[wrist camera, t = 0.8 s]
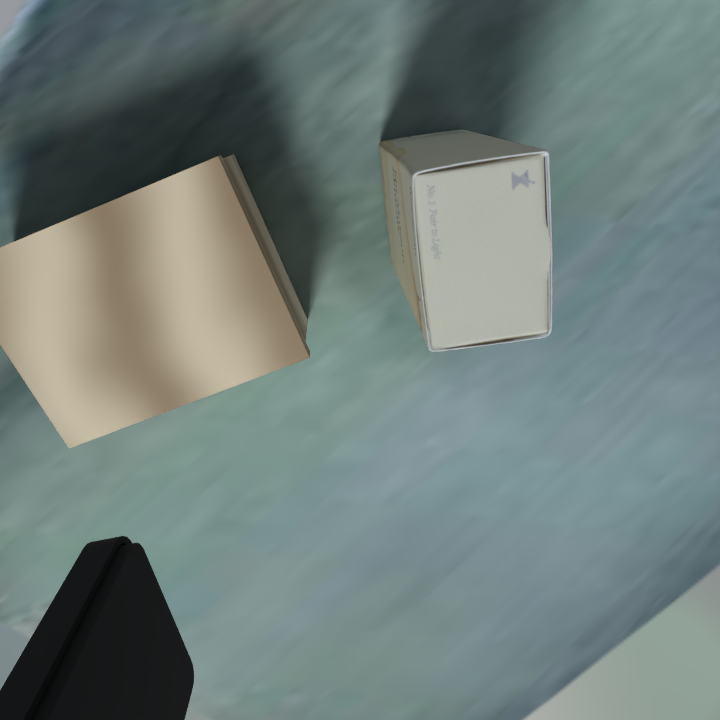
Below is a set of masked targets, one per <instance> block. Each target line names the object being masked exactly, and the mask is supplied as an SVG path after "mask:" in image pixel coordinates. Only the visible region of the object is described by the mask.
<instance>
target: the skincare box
mask: <svg viewBox="0 0 720 720" xmlns="http://www.w3.org/2000/svg"><path fill="white" fill-rule="evenodd" d="M379 151H380V161H381V172H382V183H383V192H384V202H385V211H386V219H387V228H388V236H389V244H390V252H391V260H392V264H393V266H394V269H395V271H396V274H397V276H398V279H399V281H400V283H401V286H402V288H403V290H404V293H405V295H406V297H407V300H408V302H409V304H410V306H411V309H412V311H413V313H414V316H415V318H416V320H417V323H418V325H419V327H420V330H421V332H422V334H423V337H424V339H425V341H426V344H427V346H428V349H429V350H430V351H432V352H437V351H446V350H453V349H463V348H470V347H479V346H487V345H494V344H503V343H511V342H517V341H524V340H531V339H538V338H544V337H547V336H549V335H550V333H551V332H552V224H551V193H550V168H549V152H548V151H547V150H544V149H539V148H535V147H531V146H527V145H523V144H519V143H515V142H511V141H508V140H503V139H499V138H496V137H492V136H487V135H483V134H479V133H476V132H472V131H468V130H454V131H445V132H437V133H430V134H423V135H415V136H409V137H403V138H397V139H392V140H386V141H381V142H380V143H379Z"/></svg>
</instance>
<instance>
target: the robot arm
mask: <svg viewBox="0 0 720 720" xmlns="http://www.w3.org/2000/svg"><path fill="white" fill-rule="evenodd" d="M193 683H194V670H193V664H192V661H191V659H190V656H189V654H188V652H187V649H186V647H185V645H184V642H183V640H182V638H181V635H180V633H179V631H178V628H177V626H176V624H175V621H174V619H173V617H172V614H171V612H170V610H169V607H168V605H167V603H166V600H165V598H164V596H163V593H162V591H161V588H160V586H159V584H158V581H157V579H156V577H155V574H154V572H153V570H152V567H151V565H150V563H149V560H148V558H147V556H146V553H145V551H144V549H143V547H142V546H141V545H140V544H139V543H133V544H132V542H131V540H130V539H128V538H127V537H125V536H121V537H115V538H110V539H105V540H100V541H94V542H90V543H88V544H87V545H86V546H85V547H84V548H83V550H82V552H81V553H80V555H79V557H78V559H77V560H76V562H75V564H74V565H73V567H72V569H71V570H70V572H69V574H68V576H67V577H66V579H65V581H64V582H63V584H62V586H61V588H60V589H59V591H58V593H57V594H56V596H55V598H54V600H53V601H52V603H51V605H50V606H49V608H48V610H47V611H46V613H45V615H44V617H43V618H42V620H41V622H40V623H39V625H38V627H37V629H36V630H35V632H34V634H33V635H32V637H31V639H30V641H29V642H28V644H27V646H26V647H25V649H24V651H23V653H22V654H21V656H20V658H19V659H18V661H17V663H16V665H15V666H14V668H13V670H12V672H11V673H10V675H9V676H8V678H7V680H6V682H5V683H4V685H3V687H2V688H1V690H0V720H184V719H185V715H186V712H187V708H188V704H189V700H190V696H191V692H192V688H193Z"/></svg>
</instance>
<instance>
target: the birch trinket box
mask: <svg viewBox="0 0 720 720" xmlns="http://www.w3.org/2000/svg"><path fill="white" fill-rule="evenodd" d="M307 323H308V320H307V317H306V315H305V313H304V311H303V308H302V306H301V304H300V302H299V299H298V297H297V295H296V293H295V290H294V288H293V286H292V284H291V281H290V279H289V277H288V275H287V272H286V270H285V268H284V266H283V263H282V261H281V259H280V257H279V254H278V252H277V250H276V248H275V245H274V243H273V241H272V239H271V236H270V234H269V232H268V230H267V227H266V225H265V223H264V220H263V218H262V216H261V214H260V211H259V209H258V207H257V205H256V202H255V200H254V198H253V196H252V193H251V191H250V189H249V187H248V184H247V182H246V180H245V178H244V175H243V173H242V171H241V169H240V166H239V164H238V162H237V160H236V157H235V155H234V154H232V155H230V156H228V157H225V158H222V156H221V155H220V156H217V157H215V158H212V159H210V160H208V161H205V162H203V163H201V164H198V165H196V166H193V167H191V168H189V169H186V170H184V171H181V172H179V173H177V174H174V175H172V176H170V177H167V178H165V179H162V180H160V181H158V182H155V183H153V184H150V185H148V186H146V187H143V188H141V189H139V190H136V191H134V192H131V193H129V194H127V195H124V196H122V197H119V198H117V199H115V200H112V201H110V202H108V203H105V204H103V205H100V206H98V207H96V208H93V209H91V210H88V211H86V212H84V213H81V214H79V215H77V216H74V217H72V218H69V219H67V220H65V221H62V222H60V223H57V224H55V225H53V226H50V227H48V228H46V229H43V230H41V231H38V232H36V233H34V234H31V235H29V236H26V237H24V238H22V239H19V240H17V241H15V242H12V243H10V244H7V245H5V246H3V247H0V345H1V346H2V348H3V349H4V351H5V352H6V354H7V355H8V357H9V358H10V360H11V361H12V363H13V364H14V366H15V367H16V369H17V370H18V372H19V373H20V375H21V376H22V378H23V379H24V381H25V382H26V384H27V386H28V387H29V389H30V390H31V392H32V393H33V395H34V396H35V398H36V399H37V401H38V402H39V404H40V405H41V407H42V408H43V410H44V411H45V413H46V414H47V416H48V417H49V419H50V420H51V422H52V423H53V425H54V426H55V428H56V429H57V431H58V433H59V434H60V436H61V437H62V439H63V440H64V442H65V443H66V445H67V446H68V448H72V447H74V446H77V445H79V444H82V443H85V442H87V441H90V440H93V439H95V438H98V437H101V436H103V435H106V434H109V433H111V432H114V431H117V430H119V429H122V428H125V427H127V426H130V425H132V424H135V423H138V422H140V421H143V420H146V419H148V418H151V417H154V416H156V415H159V414H162V413H164V412H167V411H170V410H172V409H175V408H178V407H180V406H183V405H185V404H188V403H191V402H193V401H196V400H199V399H201V398H204V397H207V396H209V395H212V394H215V393H217V392H220V391H223V390H225V389H228V388H231V387H233V386H236V385H239V384H241V383H244V382H246V381H249V380H252V379H254V378H257V377H260V376H262V375H265V374H268V373H270V372H273V371H276V370H278V369H281V368H284V367H286V366H289V365H292V364H294V363H297V362H299V361H302V360H305V359H307V358H310V351H309V349H308V346H307V344H306V342H305V341H306V332H307Z"/></svg>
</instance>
